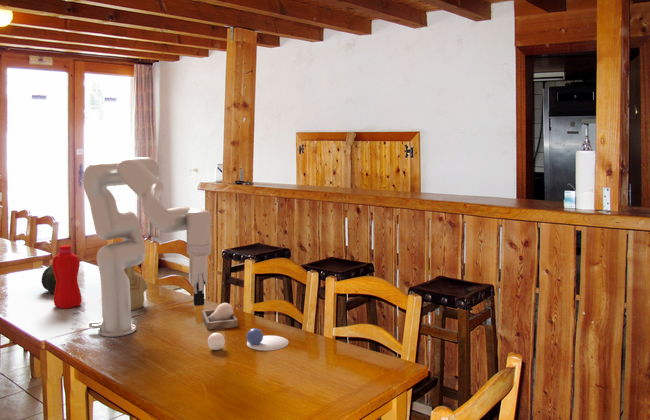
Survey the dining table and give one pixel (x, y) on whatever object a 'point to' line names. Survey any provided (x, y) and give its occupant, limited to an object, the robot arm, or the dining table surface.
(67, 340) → the dining table surface
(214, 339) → the cue ball
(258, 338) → the object ball
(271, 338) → the white round disc
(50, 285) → the squash
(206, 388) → the dining table surface
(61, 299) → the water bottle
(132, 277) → the ceramic vessel
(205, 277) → the robot arm
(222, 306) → the light bulb
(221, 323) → the brown wooden tray
